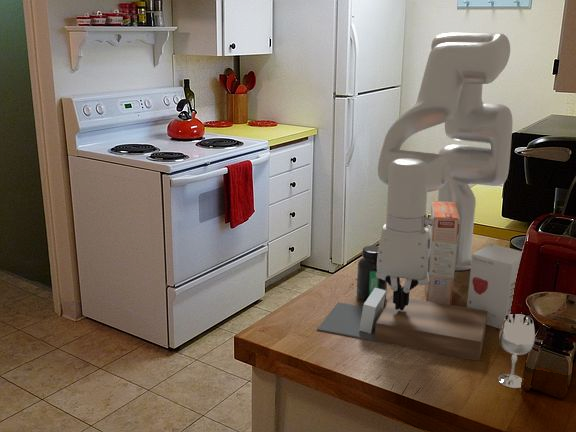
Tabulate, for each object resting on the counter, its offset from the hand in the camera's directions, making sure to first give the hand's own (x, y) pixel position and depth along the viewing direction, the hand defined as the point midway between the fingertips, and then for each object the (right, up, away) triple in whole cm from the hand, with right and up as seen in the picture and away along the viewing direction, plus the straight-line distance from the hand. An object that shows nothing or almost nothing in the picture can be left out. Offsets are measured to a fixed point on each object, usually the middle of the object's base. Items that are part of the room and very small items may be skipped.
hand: (400, 307), depth 125 cm
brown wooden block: (+6, -5, -1) cm, 8 cm away
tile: (-4, -1, +2) cm, 5 cm away
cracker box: (+12, 0, +18) cm, 22 cm away
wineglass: (+16, -11, -17) cm, 26 cm away
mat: (-9, -4, +5) cm, 11 cm away
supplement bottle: (-4, 0, +16) cm, 17 cm away
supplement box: (+21, -3, +7) cm, 23 cm away
